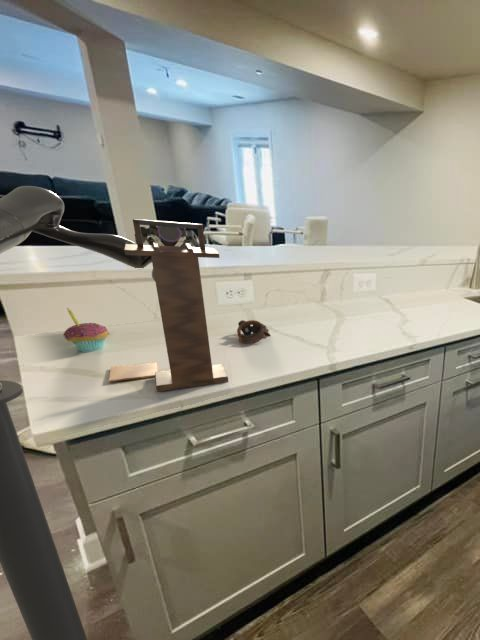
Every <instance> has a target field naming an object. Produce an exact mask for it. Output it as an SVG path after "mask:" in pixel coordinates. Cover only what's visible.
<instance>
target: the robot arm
mask: <svg viewBox="0 0 480 640" xmlns="http://www.w3.org/2000/svg"><path fill="white" fill-rule="evenodd" d="M64 212H65V203H64V201H63V199H62V198H61V197H60V196H59V195H57V193H56V192H55V193H54V192H53V191H51V190H50V189H47V188H43V187H41V186H35V185H34V186H33V185H21V186H17V187H16V188H13V190H11V191H10V192H9V193H7V194H6V195H4V196H2V197H0V255H2V253H5V252H7V251H8V250H11V249H13V248H14V247H16V246H18V245H20V244H21V243H23V242H24V241H25V240H26V239H27V238H28V237H29V236H30V235H31V233H32V232H33V233H36V234H39V235H41V236H45V237H48V238H51V239H53V240H54V239H55V240H57V241H60V242H64V243H66V244H69V245H72V246H76V247H79V248H83V249H85V250H89V251H92V252H95V253H97V254H100V255H104V256H106V257H108V258H111V259H113V260H115V261H118V262H120V263H122V264H124V265H127V266H129V267H131V268H133V267H134V268H133V269H136V268H143V269H145V268H146V267H148V266H149V265H150V264H152V258H151V256H145V255H125V251H124V249H125V244H136V245H137V241H136V236H135V235H134V241H135V242H134V241H132V240H131V239H130V240H129V239H128V238H125V237H123V236H120V235H116V234H110V233H89V232H79V231H75V230H71V229H69V228H66V227H64V226H62V225H60V223H61V220H62V217H63V216H64ZM140 228H141V234H142V240H143V244H147V245H153V242H158V246H179V247H186V246H185V243H189V244H190V245H191V247H200V245H199V237H198V235H197V234H196V232H194V230H192V229H187V230H186V228H179V229H180V230H181V238H180V239H179V240H178V241H175V242H168V241H165V240H163V239H162V238H161V237H160V236H159V234H158V232H157V226H150V225H148V227H145V226H140ZM144 267H145V268H144ZM151 278H152V280H153V281H154V282H155V276H154V270H153V269H152V270H151ZM2 391H3V387H2V384H0V392H2Z"/></svg>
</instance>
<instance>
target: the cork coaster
mask: <svg viewBox="0 0 480 640" xmlns="http://www.w3.org/2000/svg"><path fill="white" fill-rule="evenodd" d="M109 369H110V370H109V377H108V382H109V383H111V382H119V381H120V382H121V381H128V380H137V379H145V378H153V377H154V378H156V377H155V372H157V371H159V367H158V362H157V361H156V362H147V363H146V362H145V363H135V364H127V365H126V364H125V365H116V366H110V368H109Z"/></svg>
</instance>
